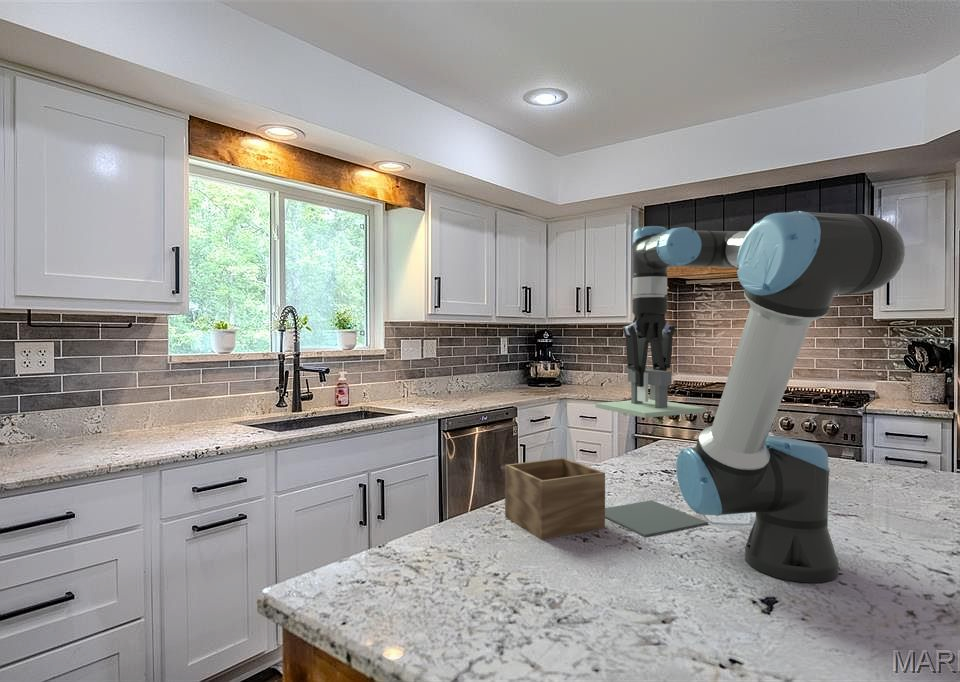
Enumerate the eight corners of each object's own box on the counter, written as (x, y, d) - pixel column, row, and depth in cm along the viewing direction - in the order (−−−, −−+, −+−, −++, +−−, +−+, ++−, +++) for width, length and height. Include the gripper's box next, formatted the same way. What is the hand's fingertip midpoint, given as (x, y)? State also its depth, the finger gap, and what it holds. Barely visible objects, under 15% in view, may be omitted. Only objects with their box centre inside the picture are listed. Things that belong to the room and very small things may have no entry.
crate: (604, 527, 129) (605, 472, 128) (541, 539, 122) (541, 481, 121) (563, 507, 143) (563, 457, 143) (505, 516, 136) (504, 464, 136)
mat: (708, 523, 131) (708, 522, 131) (644, 536, 123) (644, 534, 123) (651, 501, 147) (651, 500, 147) (592, 512, 139) (592, 510, 139)
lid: (705, 412, 131) (705, 371, 130) (645, 417, 123) (645, 374, 123) (652, 402, 146) (652, 366, 146) (595, 407, 139) (595, 368, 138)
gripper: (665, 298, 141) (664, 396, 141) (610, 296, 134) (609, 400, 134) (688, 296, 134) (688, 400, 135) (632, 295, 127) (631, 405, 128)
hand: (649, 400), depth 134 cm, fingers closed on lid, 3 cm apart
